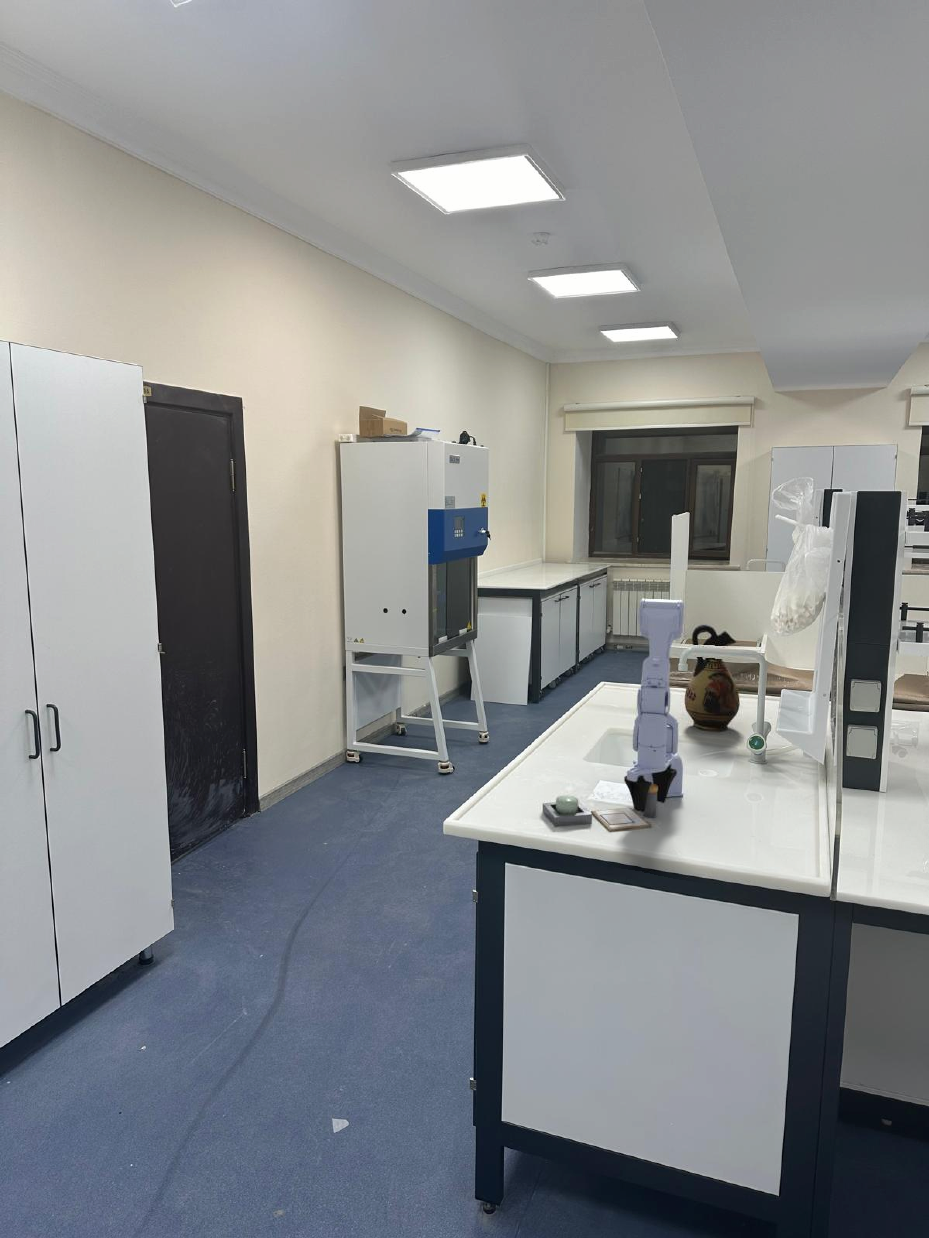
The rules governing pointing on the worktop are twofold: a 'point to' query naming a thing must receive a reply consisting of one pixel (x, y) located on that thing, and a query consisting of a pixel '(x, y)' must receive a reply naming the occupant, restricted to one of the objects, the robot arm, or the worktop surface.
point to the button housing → (567, 815)
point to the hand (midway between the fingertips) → (649, 806)
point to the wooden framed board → (620, 819)
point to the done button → (566, 805)
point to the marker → (651, 802)
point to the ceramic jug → (712, 687)
